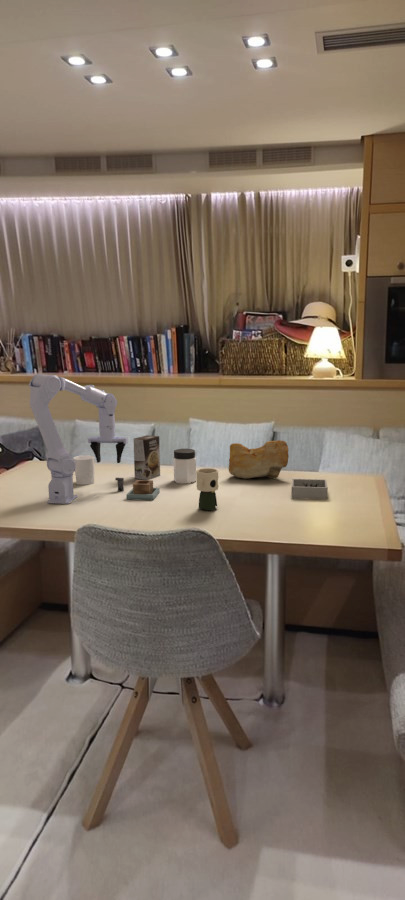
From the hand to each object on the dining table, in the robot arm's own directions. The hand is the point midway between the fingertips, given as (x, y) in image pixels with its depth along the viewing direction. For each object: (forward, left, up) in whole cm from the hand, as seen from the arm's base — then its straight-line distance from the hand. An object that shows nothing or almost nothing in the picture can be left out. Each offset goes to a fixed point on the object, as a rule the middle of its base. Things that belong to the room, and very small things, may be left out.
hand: (108, 462), depth 229 cm
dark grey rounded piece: (-3, -5, -10) cm, 11 cm away
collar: (-9, -15, -9) cm, 20 cm away
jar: (+13, -26, -10) cm, 31 cm away
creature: (0, -74, -10) cm, 75 cm away
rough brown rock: (+24, -54, -10) cm, 60 cm away
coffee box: (+18, -10, -10) cm, 23 cm away
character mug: (-22, -40, -10) cm, 47 cm away
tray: (-9, -15, -10) cm, 20 cm away
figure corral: (-1, -73, -10) cm, 74 cm away
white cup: (+7, +12, -10) cm, 17 cm away
